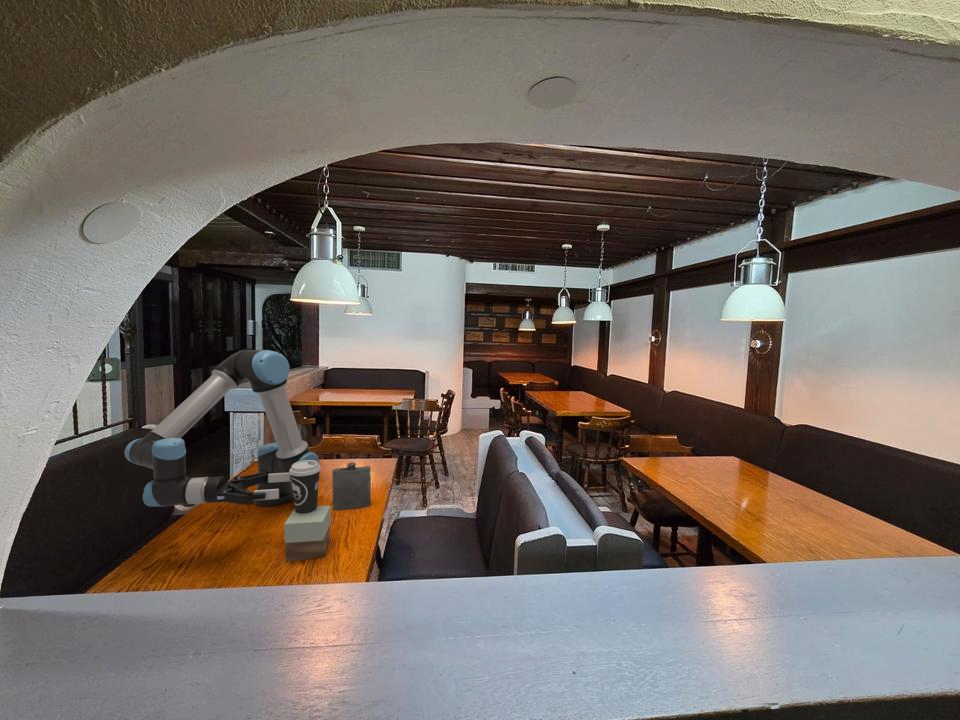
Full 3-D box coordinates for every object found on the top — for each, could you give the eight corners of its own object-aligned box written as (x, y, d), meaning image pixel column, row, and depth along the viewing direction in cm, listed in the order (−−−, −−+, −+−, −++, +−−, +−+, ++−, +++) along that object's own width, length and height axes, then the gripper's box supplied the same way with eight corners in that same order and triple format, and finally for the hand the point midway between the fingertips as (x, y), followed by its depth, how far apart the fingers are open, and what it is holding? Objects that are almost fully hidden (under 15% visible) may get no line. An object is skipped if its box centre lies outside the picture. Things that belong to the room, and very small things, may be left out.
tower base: (294, 542, 129) (293, 525, 128) (329, 539, 131) (329, 522, 131) (285, 562, 118) (285, 543, 118) (324, 557, 121) (324, 539, 120)
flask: (370, 507, 155) (370, 463, 154) (332, 511, 151) (331, 466, 150) (370, 503, 158) (370, 460, 157) (333, 507, 154) (332, 463, 153)
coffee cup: (317, 515, 123) (317, 469, 122) (285, 516, 122) (284, 470, 120) (324, 501, 133) (324, 458, 131) (295, 503, 131) (294, 459, 130)
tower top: (295, 525, 129) (295, 507, 128) (330, 522, 130) (330, 505, 130) (284, 543, 118) (284, 523, 117) (322, 540, 119) (322, 521, 119)
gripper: (225, 485, 130) (294, 481, 134) (187, 521, 105) (273, 514, 110) (224, 463, 129) (293, 460, 134) (186, 494, 105) (272, 489, 110)
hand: (284, 484), depth 122 cm, fingers open, 13 cm apart
